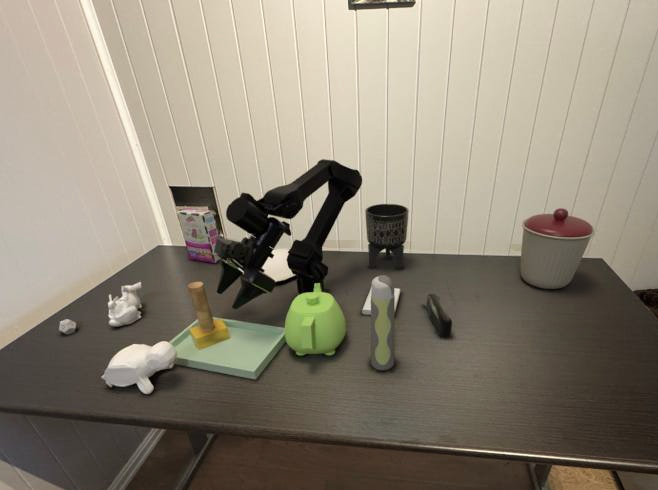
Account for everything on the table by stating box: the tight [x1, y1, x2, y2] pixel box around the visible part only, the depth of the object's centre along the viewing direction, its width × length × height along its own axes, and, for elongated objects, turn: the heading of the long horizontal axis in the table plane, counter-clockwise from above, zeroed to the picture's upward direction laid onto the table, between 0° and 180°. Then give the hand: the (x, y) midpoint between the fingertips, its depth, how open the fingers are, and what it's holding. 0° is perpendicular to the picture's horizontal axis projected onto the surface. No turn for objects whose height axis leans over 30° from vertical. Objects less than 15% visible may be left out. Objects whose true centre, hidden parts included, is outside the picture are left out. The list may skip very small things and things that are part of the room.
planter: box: [364, 203, 410, 270], centre depth 116 cm, size 13×13×18 cm
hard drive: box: [361, 286, 401, 316], centre depth 99 cm, size 2×8×12 cm
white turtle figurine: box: [100, 340, 178, 395], centre depth 73 cm, size 9×8×15 cm
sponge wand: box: [187, 281, 230, 350], centre depth 82 cm, size 7×5×14 cm
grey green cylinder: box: [370, 274, 395, 371], centre depth 73 cm, size 5×5×20 cm
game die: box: [58, 318, 77, 335], centre depth 90 cm, size 4×4×3 cm
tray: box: [168, 316, 287, 380], centre depth 83 cm, size 24×16×2 cm, turn 74°
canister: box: [519, 207, 597, 290], centre depth 103 cm, size 18×18×21 cm
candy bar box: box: [175, 208, 222, 264], centre depth 123 cm, size 11×5×16 cm, turn 68°
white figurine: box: [107, 281, 143, 328], centre depth 93 cm, size 12×8×10 cm, turn 168°
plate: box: [238, 248, 297, 283], centre depth 119 cm, size 22×22×2 cm
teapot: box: [284, 283, 347, 356], centre depth 81 cm, size 20×13×13 cm
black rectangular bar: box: [424, 293, 453, 338], centre depth 90 cm, size 5×3×15 cm
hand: (225, 300), depth 85 cm, fingers open, 9 cm apart
